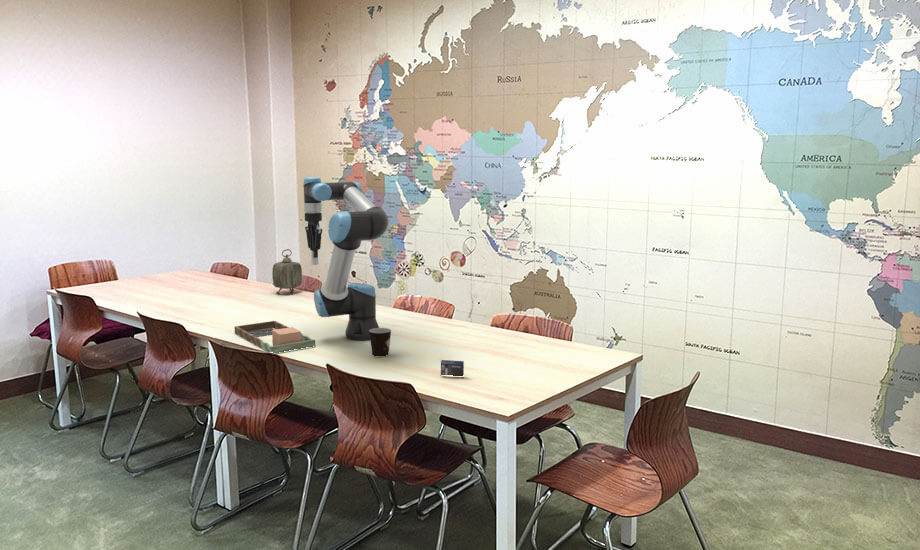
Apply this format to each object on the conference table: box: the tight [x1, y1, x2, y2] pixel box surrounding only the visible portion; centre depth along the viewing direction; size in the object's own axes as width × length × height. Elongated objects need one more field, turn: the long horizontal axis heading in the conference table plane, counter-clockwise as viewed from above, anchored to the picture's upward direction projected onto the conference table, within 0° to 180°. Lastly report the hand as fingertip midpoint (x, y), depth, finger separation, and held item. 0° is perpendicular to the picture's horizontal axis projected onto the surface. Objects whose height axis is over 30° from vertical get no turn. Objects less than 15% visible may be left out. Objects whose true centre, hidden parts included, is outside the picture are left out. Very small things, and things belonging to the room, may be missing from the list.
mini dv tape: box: [440, 359, 465, 376], centre depth 277 cm, size 8×2×6 cm, turn 80°
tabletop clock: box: [271, 248, 303, 296], centre depth 424 cm, size 14×9×25 cm, turn 144°
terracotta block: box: [271, 326, 302, 346], centre depth 317 cm, size 9×9×7 cm
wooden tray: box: [234, 320, 316, 354], centre depth 328 cm, size 42×19×3 cm, turn 36°
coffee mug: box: [369, 327, 392, 357], centre depth 304 cm, size 12×9×10 cm
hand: (314, 264), depth 343 cm, fingers closed
